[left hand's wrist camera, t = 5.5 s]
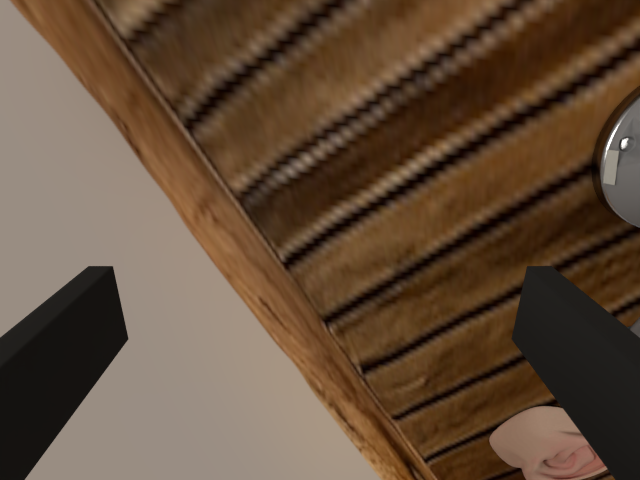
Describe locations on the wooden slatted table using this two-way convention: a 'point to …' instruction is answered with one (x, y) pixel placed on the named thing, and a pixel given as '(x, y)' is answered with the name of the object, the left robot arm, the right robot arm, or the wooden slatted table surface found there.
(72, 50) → the wooden slatted table surface
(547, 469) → the anatomical model
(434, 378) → the wooden slatted table surface
